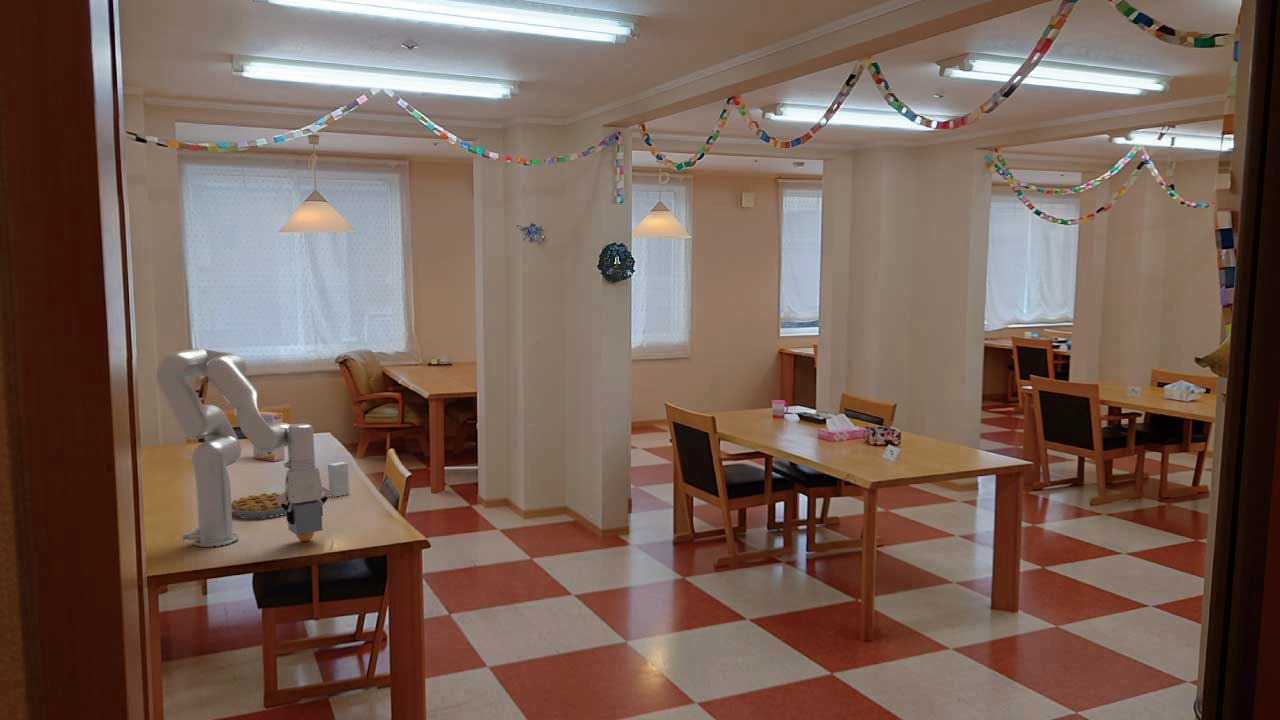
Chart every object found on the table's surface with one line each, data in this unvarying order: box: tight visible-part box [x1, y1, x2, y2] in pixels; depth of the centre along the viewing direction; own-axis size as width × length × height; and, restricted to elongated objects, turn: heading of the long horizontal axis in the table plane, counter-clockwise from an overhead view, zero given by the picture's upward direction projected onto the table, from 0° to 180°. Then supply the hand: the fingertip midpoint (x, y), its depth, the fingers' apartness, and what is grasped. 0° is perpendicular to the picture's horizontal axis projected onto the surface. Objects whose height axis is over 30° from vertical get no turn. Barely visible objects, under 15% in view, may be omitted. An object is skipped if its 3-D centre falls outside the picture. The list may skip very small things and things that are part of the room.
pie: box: [231, 492, 288, 519], centre depth 328 cm, size 22×22×5 cm
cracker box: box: [252, 410, 285, 462], centre depth 417 cm, size 14×6×21 cm, turn 58°
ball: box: [296, 532, 315, 542], centre depth 292 cm, size 5×5×5 cm
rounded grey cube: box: [287, 501, 323, 536], centre depth 290 cm, size 8×8×9 cm
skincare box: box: [327, 461, 350, 498], centre depth 351 cm, size 6×4×12 cm
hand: (305, 520), depth 290 cm, fingers closed on rounded grey cube, 7 cm apart
